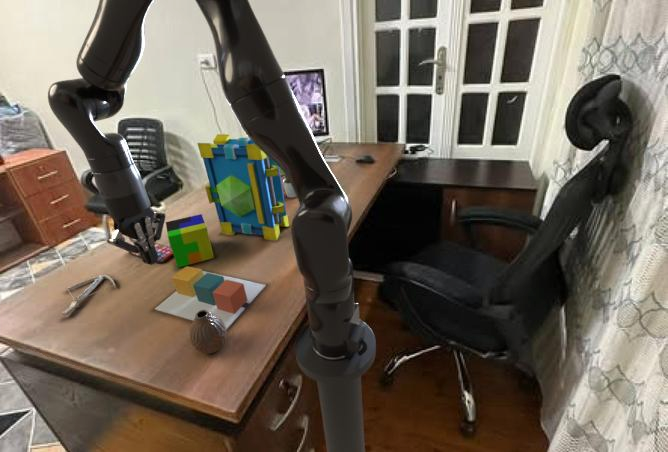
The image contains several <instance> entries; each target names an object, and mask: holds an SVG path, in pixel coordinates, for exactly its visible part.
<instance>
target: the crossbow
mask: <svg viewBox="0 0 668 452" xmlns="http://www.w3.org/2000/svg"><path fill="white" fill-rule="evenodd" d="M105 279H107V280H109V281H110V282H111V283H112V285H110V286H107V287H105V288H103V289H100V290H97V291H96V292H93V293H92V294H90V293H91V292H92V291H93V290H95V289H96V287H97V286H98V285H100V284H101V282H102V281H104V280H105ZM90 282H92V283H91V284H90V285H89V286H87V288H85V289H84V290H83V291H82V292H81V293H80V294H79V295H78V296H77V297H76V298H74V297H73V295H72V293H71V292H70V291H72V290H74V289H76V288H78V287H80V286H83V285H86V284H88V283H90ZM110 287H114V288H116V287H117V285H116V283H115V281H114V280H113V278H112V277H111V276H109V275H107V274H99V275H97V276H94V277H91V278H88V279H85V280H83V281H80V282H77V283H75V284H73V285H71V286H68V287H66V291H67V292H69V294H70V296H71V297H72V299H73V301H72V302H71V304H70V305H69V306H68V307H67V308H66V309H65V310H63V311H61V315H62V317H63V318H69V317H70V316H71V315H72V314H73V313H74V311H75V310H76V308H80V303H81V302H82V301H83V300H84V299H85V298H87V297H90V296H91V295H94V294H97V293H98V292H101V291H103V290H105V289H107V288H110Z"/></svg>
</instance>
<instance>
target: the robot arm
mask: <svg viewBox="0 0 668 452" xmlns="http://www.w3.org/2000/svg"><path fill="white" fill-rule="evenodd" d="M154 1H155V0H99V1H98V4H97V9H96V12H95V14H94V17H93V20H92V23H91V25H90V27H89V29H88V32H87V34H86V36H85V38H84V40H83V42H82V45H81V47H80V49H79V51H78V54H77V57H76V62H75V63H76V69H77V71H78V73H79V75H80V76H81V77H78V78H73V79H65V80H58V81H56V82H53V83H52V84H50V86H49V88H48V91H47V100H48V105H49V107H50V109H51V111H52V113H53V116H55V117H56V119H57V120H58V121H59V123H61V125H62V126H63V127H64V129H65V130H66V131H67V132H68V133H69V135H70V136H71V137H72V139H73V140H74V141H75V142H76V144H77V145H78V146H79V148H80V149H81V151H82V152H83V154H84V156H85V158H86V161H87V163H88V165H89V167H90V170H91V173H92V175H93V179H94V182H95V185H96V188H97V190H98V193H99V195H100V197H101V199H102V201H103V203H104V206H105V208H106V211H107V213H108V214H109V216H110V218H111V219H112V221H113V229H114V232H113V234H112V236H111V237H110V236H109V237H108V238H107V239H106V242H107V244H110V245H111V246H113V247H117V248H119V249H121V250H123V251H125V252H126V251H127V252H128V253H129V252H133V253H139V254H140V256H141V261H142V263H144V264H146V265H149V266H153V265H155V264H156V263H157V261H158V259H157V258H158V254H157V252H156V249H155V243H156V242H157V241H160V240H161V238H162V233H163V230H164V225H165V219H166V213H163V212H156V211H155V210H154V208H153V207H151V205H152V204H151V200H150V198H149V195H148V192H147V189H146V187H145V184H144V181H143V179H142V176H141V174H140V171H139V170H138V168H137V166H136V163H135V162H134V160H133V159H134V158H133V156H132V153H131V151H130V148H129V146H128V143H127V141H126V139H125V138H124V136H123V135H122V134H121V133H118V132H102V131H101V130H100V128H98V126H97V125H96V124H95V122H98V121H103V120H106V119H110V118H113V117H114V116H116V115H117V114H119V112H120V111H121V110H122V109H123V107H124V104H125V97H126V92H127V84H128V81H129V80H130V78H131V77H132V75H133V73H134V71H135V70H136V69H137V66H138V65H139V63H140V61H141V59H142V57H143V54H144V51H145V45H146V31H145V30H146V29H145V27H146V25H145V23H146V17H147V14H148V11H149V9H150V7H151V6H152V4H153V2H154ZM194 1H195V2H196V4H197V7H198V8H199V10H200V12H201V14H202V15H203V17H204V19H205V21H206V24H207V25H208V28H209V30H210V31H209V32H210V34H211V36H212V40H213V45H214V49H215V57H216V65H217V72H218V77H219V83H220V87H221V90H222V93H223V95H224V98H225V99H226V101H227V103H228V105H229V107H230V109H231V111H232V113H233V114H234V116H235V118H236V119H237V122H238V124H240V127H241V128H242V129H243V131H244V133H245V134H246V136H247V138H250V139H251V140H252V142H253V143H254V144H255V145H256V146H257V147H258V148H259V149H260V150H262V151H263V152H264V153H265V154H266V155H267V156H268V157H269V158H271V159H272V160H273V161H274V162H275V163H276V164H277V165H278V166H279V169H280V170H283V172H284V173H285V175H286V176H287V178H288V180H289V181H290V183H291V185H292V187H293V189H294V191H295V193H296V196H297V197H296V198H297V200H298V202H299V207H298V209H297V210H296V212H295V214H294V215H293V218H292V220H291V224H290V225H291V226H290V227H291V228H290V230H291V231H290V232H291V241H292V245H293V251H294V257H295V261H296V266H297V270H298V271H299V273H300V275H302V280H303V286H304V294H305V301H306V308H307V314H308V315H307V316H308V321H309V322H308V323H310V329H311V331H310V333H309V338H310V337H311V335H312V346H313V350H314V352H315V353H316V354H317V355H318V356H319V357H320V358H322V359H324V360H328V361H339V360H343V359H348V360H351V358H352V356H353V354H354V352H356V353H358V355H360V356H362V355H363V354H364V353H365V352H366V351H367V343H366V342H365V340H364V338H365V326H362V325H360V320H361V318H360V305H359V303H358V302H356V299H355V297H356V296H355V282H354V265H353V261H352V260H351V258H350V254H349V241H348V240H349V239H348V235H349V230H350V228H351V224H352V222H353V221H352V220H353V210H352V205H351V203H350V201H349V198H348V196H347V195H346V193H345V191H344V190H343V189H342V187H341V185H340V184H339V182H338V180H337V179H336V177H335V175H334V174H333V172H332V171H331V169H330V167H329V165H328V164H327V162H326V161H325V158H324V157H323V155H322V153H321V151H320V149H319V147H318V144H317V142H316V139H315V137H314V134H313V132H312V130H311V128H310V126H309V124H308V122H307V120H306V118H305V116H304V114H303V111H302V110H301V107H300V104H299V102H298V99H297V98H296V96H295V93H294V91H293V89H292V87H291V85H290V83H289V80H288V79H287V76H286V75H285V73H284V71H283V69H282V67H281V65H280V63H279V61H278V59H277V57H276V56H275V54H274V51H273V49H272V47H271V45H270V43H269V41H268V39H267V37H266V35H265V34H266V33H264V30H263V29H262V26H261V24H260V22H259V20H258V18H257V17H256V14H255V12H254V10H253V8H252V5H251V4H250V1H249V0H194ZM126 237H127V238H128V239H129V241H130V242H131V243H129V242H128V241H126ZM361 345H362V346H363V348H362V349H361V350H360V351H359V349H360V347H361Z"/></svg>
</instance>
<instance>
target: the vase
mask: <svg viewBox="0 0 668 452" xmlns="http://www.w3.org/2000/svg"><path fill="white" fill-rule="evenodd" d="M227 333H228V332H227V330H226V327H225V324H224V322H223V321H222V319H221V318H220V317H218V316H217V315H215V314H212V313H209V312H208V311H207V310H201V311H199V312H197V313H196V315H195V319H194V320H193V321H192V322H191V324H190V326H189V341H190V343H191V345H192V347H193V348H194V349H195V350H196V351H197V352H199V353H201V354H204V355H205V354H206V355H207V354H208V355H209V354H214V353H216V352H218V351H219V350H220V349H221V348H222V347H223V346H224V345H225V343H226V340H227Z"/></svg>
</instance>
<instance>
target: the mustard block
mask: <svg viewBox="0 0 668 452" xmlns="http://www.w3.org/2000/svg"><path fill="white" fill-rule="evenodd" d="M202 271H203V270H202V268H197V267H192V266H189V265H186V266H184V267H182V269H181V270H180V271H178V272H177V273H176V274H174V275H173V276H172V277H171V279H172V282H173V284H174V288H175V290H176V291H177V293H178V294H182V295H186V296H190V297H194V296H195V295H196V292H195V289H194V286H193V285H194V284H195V283H196V282H197V281H198V280H199V279H201V278H202V277H203V276H204V275H203V272H202Z"/></svg>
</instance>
